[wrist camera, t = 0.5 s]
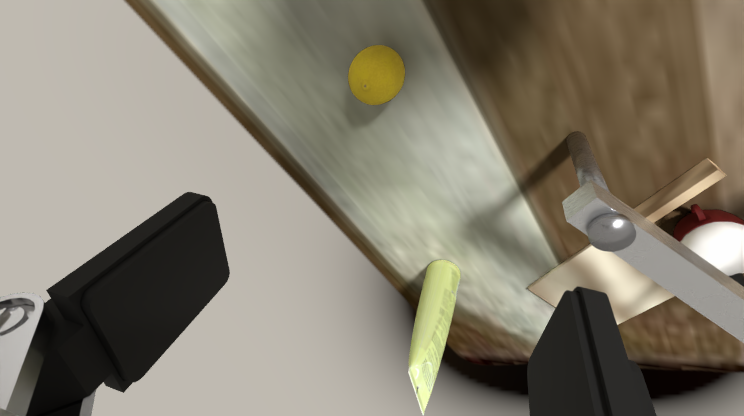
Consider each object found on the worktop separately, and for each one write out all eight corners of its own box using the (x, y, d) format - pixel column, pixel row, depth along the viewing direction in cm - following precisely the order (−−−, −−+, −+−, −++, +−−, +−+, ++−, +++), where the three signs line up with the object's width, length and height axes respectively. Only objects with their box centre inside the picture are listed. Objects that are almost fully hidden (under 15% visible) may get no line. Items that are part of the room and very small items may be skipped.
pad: (601, 235, 43) (602, 238, 43) (679, 289, 44) (681, 292, 44) (527, 286, 51) (528, 289, 50) (596, 332, 52) (596, 335, 51)
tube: (417, 268, 55) (381, 388, 40) (437, 250, 52) (408, 373, 37) (446, 289, 56) (423, 415, 40) (469, 272, 53) (452, 402, 37)
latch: (546, 136, 39) (566, 228, 26) (567, 115, 37) (600, 202, 24) (687, 235, 40) (775, 371, 27) (713, 219, 39) (821, 357, 25)
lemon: (408, 94, 41) (390, 119, 35) (362, 87, 42) (336, 110, 36) (415, 42, 38) (396, 58, 32) (364, 35, 39) (337, 50, 33)
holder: (706, 157, 36) (718, 169, 34) (806, 230, 37) (823, 245, 35) (609, 225, 42) (614, 238, 41) (695, 285, 43) (704, 301, 41)
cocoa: (670, 193, 39) (715, 263, 29) (748, 189, 36) (827, 264, 27) (661, 263, 43) (699, 345, 34) (731, 264, 41) (793, 353, 31)
